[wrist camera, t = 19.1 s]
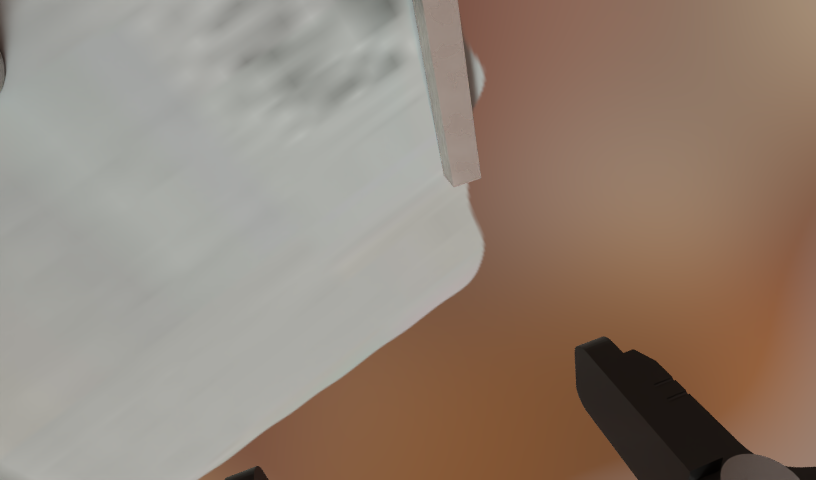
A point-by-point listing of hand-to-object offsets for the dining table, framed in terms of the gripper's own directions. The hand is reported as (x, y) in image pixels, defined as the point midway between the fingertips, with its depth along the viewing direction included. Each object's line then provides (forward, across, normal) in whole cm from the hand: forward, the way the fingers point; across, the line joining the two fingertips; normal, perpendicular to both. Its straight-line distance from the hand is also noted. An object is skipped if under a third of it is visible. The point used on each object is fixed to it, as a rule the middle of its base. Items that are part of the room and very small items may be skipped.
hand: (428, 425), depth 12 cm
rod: (+38, -13, +1) cm, 40 cm away
